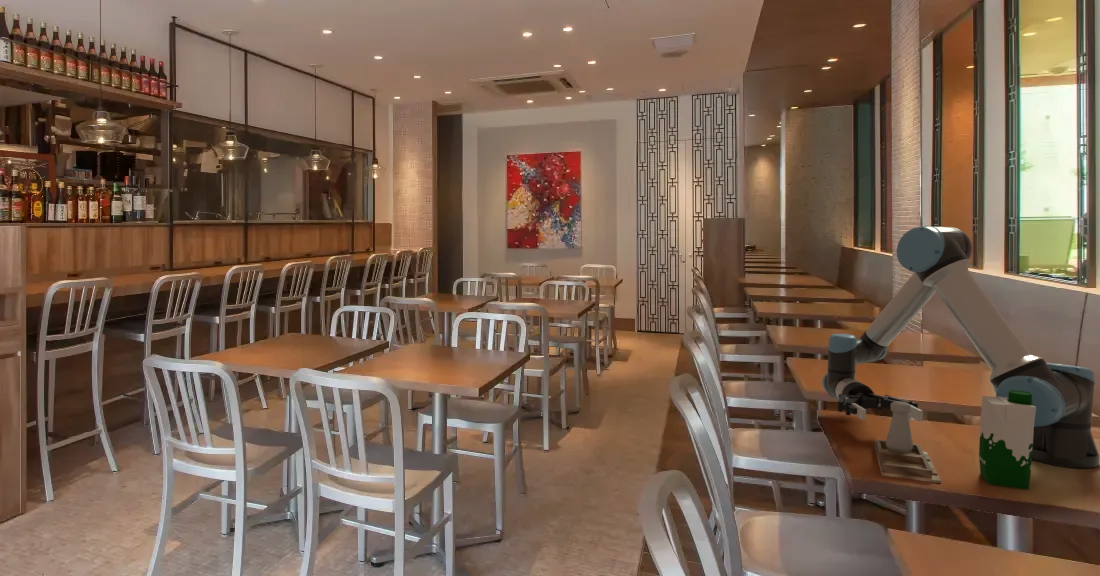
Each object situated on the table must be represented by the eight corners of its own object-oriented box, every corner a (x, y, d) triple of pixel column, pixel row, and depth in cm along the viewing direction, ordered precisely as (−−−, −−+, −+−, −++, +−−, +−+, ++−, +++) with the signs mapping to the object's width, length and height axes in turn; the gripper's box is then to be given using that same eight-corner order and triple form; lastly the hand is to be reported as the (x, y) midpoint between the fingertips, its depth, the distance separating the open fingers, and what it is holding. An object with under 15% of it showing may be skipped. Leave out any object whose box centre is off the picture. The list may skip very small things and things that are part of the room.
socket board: (926, 454, 151) (926, 444, 151) (941, 483, 133) (941, 472, 132) (874, 448, 156) (874, 438, 156) (881, 475, 137) (882, 464, 137)
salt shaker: (915, 459, 145) (917, 406, 144) (888, 457, 147) (890, 404, 146) (908, 451, 151) (910, 400, 150) (882, 449, 153) (884, 398, 152)
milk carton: (1035, 492, 128) (1041, 398, 127) (984, 485, 131) (989, 394, 130) (1021, 477, 136) (1026, 389, 135) (973, 471, 140) (978, 385, 138)
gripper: (899, 408, 172) (943, 431, 151) (809, 406, 174) (840, 429, 153) (900, 382, 172) (945, 401, 151) (810, 380, 173) (841, 399, 152)
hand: (892, 415), depth 152 cm, fingers open, 13 cm apart
